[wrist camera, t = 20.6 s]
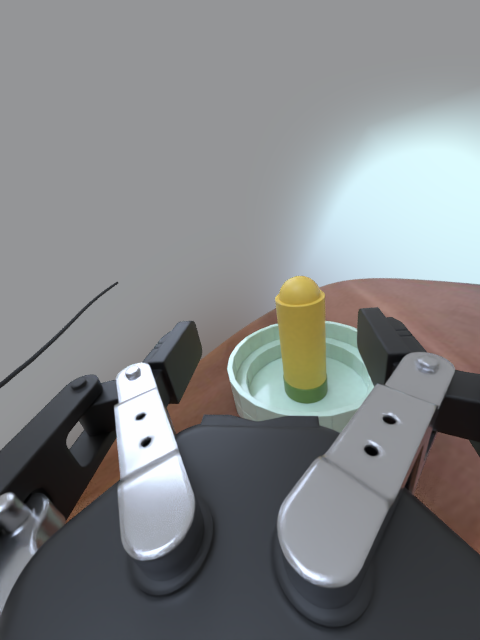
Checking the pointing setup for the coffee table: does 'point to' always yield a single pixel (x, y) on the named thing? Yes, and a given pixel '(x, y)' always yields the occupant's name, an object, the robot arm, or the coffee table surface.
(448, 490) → the coffee table surface
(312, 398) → the corn cob
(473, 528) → the coffee table surface
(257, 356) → the basin
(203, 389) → the coffee table surface
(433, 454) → the coffee table surface
